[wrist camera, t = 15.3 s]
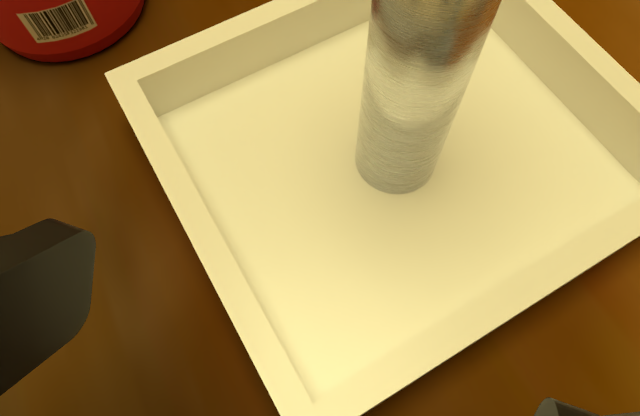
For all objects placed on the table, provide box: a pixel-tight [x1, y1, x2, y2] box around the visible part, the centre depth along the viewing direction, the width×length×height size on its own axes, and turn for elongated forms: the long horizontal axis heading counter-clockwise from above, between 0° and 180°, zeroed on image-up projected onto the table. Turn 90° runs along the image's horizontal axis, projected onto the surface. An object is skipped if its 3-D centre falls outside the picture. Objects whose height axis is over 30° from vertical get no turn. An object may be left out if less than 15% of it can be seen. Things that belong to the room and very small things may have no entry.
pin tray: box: [104, 0, 640, 416], centre depth 21 cm, size 18×16×3 cm
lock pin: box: [355, 0, 502, 194], centre depth 15 cm, size 4×4×15 cm
